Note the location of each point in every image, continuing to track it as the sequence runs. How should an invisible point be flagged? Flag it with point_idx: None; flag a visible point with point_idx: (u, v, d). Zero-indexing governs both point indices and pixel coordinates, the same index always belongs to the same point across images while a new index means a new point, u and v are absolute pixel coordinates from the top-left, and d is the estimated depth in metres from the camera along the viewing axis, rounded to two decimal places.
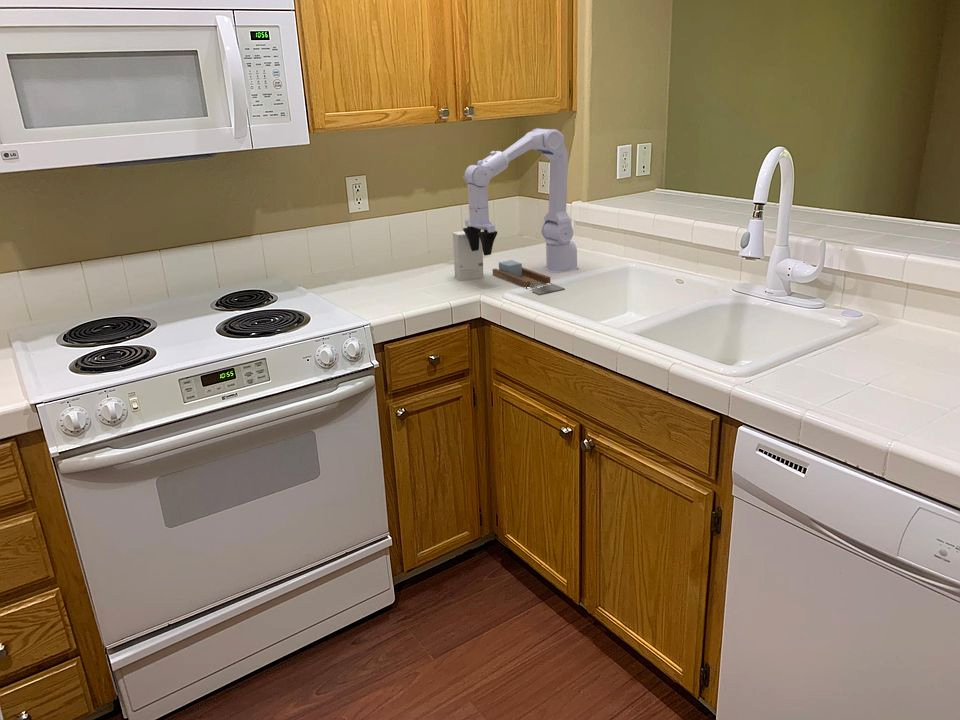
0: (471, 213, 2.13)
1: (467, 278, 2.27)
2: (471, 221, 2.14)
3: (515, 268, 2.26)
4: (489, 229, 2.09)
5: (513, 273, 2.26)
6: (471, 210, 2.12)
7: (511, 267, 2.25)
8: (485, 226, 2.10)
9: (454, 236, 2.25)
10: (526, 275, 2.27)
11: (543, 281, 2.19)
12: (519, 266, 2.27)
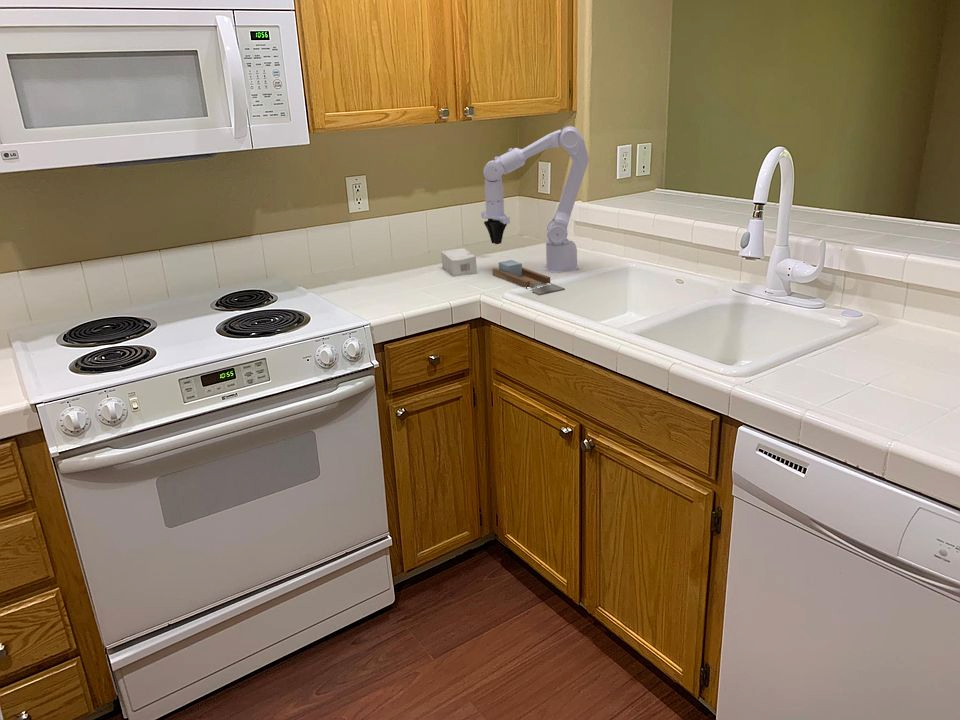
0: (487, 206, 2.27)
1: (459, 258, 2.32)
2: (487, 213, 2.28)
3: (515, 268, 2.26)
4: (504, 221, 2.24)
5: (513, 273, 2.26)
6: (487, 203, 2.26)
7: (511, 267, 2.25)
8: (501, 218, 2.24)
9: (442, 261, 2.44)
10: (526, 275, 2.27)
11: (543, 281, 2.19)
12: (519, 266, 2.27)
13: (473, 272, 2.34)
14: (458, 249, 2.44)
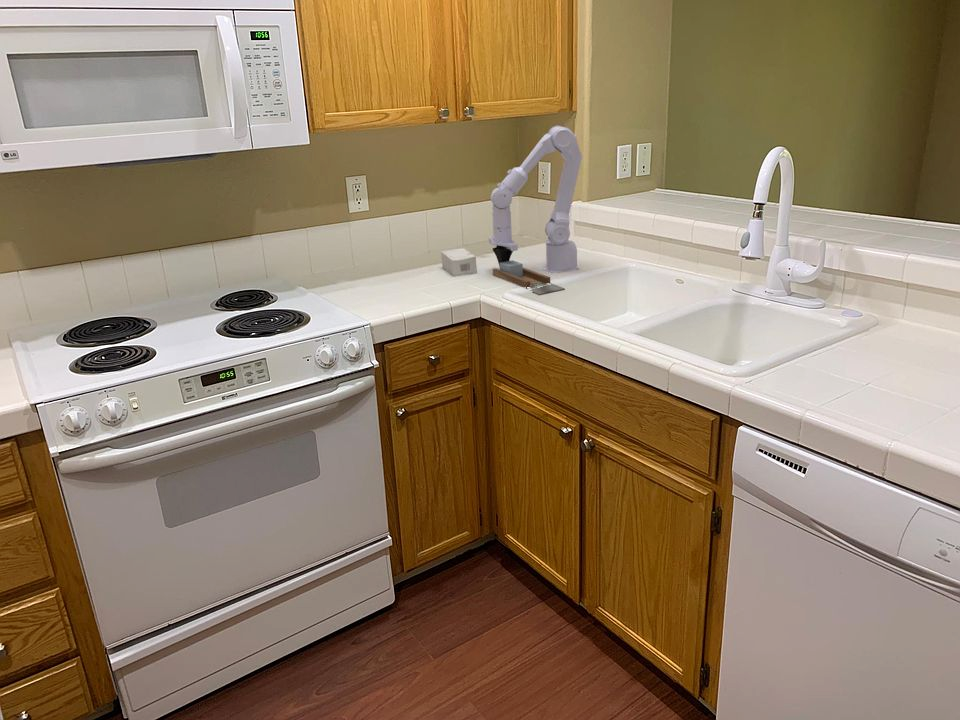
0: (495, 232, 2.26)
1: (459, 258, 2.32)
2: (495, 240, 2.27)
3: (516, 268, 2.26)
4: (512, 248, 2.23)
5: (514, 273, 2.26)
6: (495, 230, 2.26)
7: (512, 267, 2.25)
8: (508, 245, 2.24)
9: (442, 261, 2.44)
10: (526, 275, 2.27)
11: (543, 281, 2.19)
12: (520, 267, 2.26)
13: (473, 272, 2.34)
14: (458, 249, 2.44)
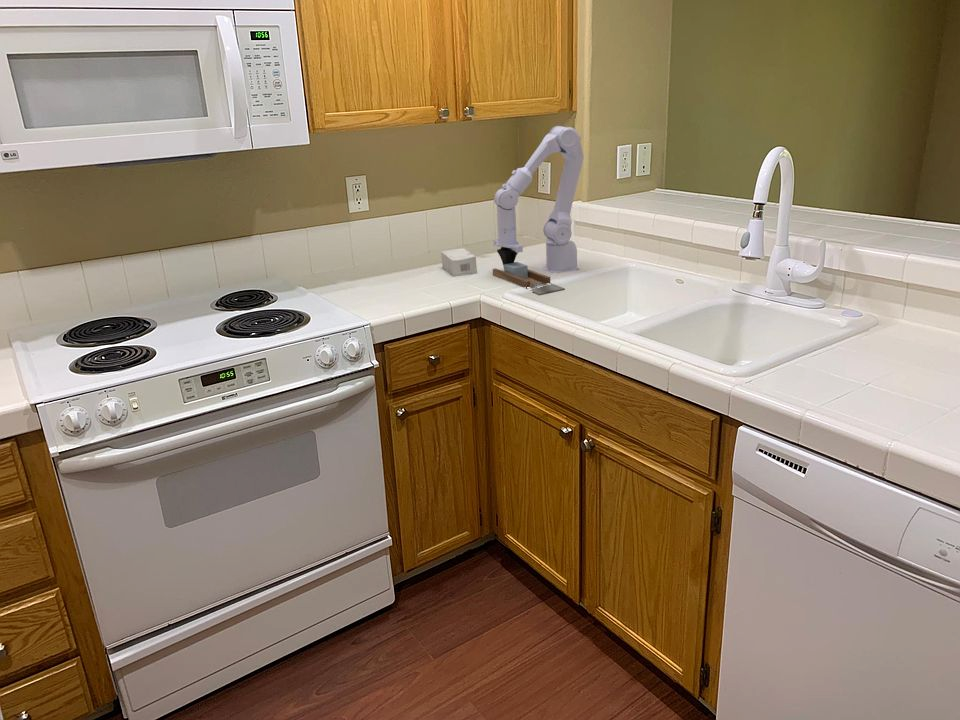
0: (500, 234, 2.24)
1: (459, 258, 2.32)
2: (500, 241, 2.25)
3: (521, 270, 2.23)
4: (517, 249, 2.21)
5: (519, 275, 2.23)
6: (500, 231, 2.24)
7: (517, 269, 2.22)
8: (513, 246, 2.22)
9: (442, 261, 2.44)
10: None
11: (543, 281, 2.19)
12: (525, 269, 2.24)
13: (473, 272, 2.34)
14: (458, 249, 2.44)
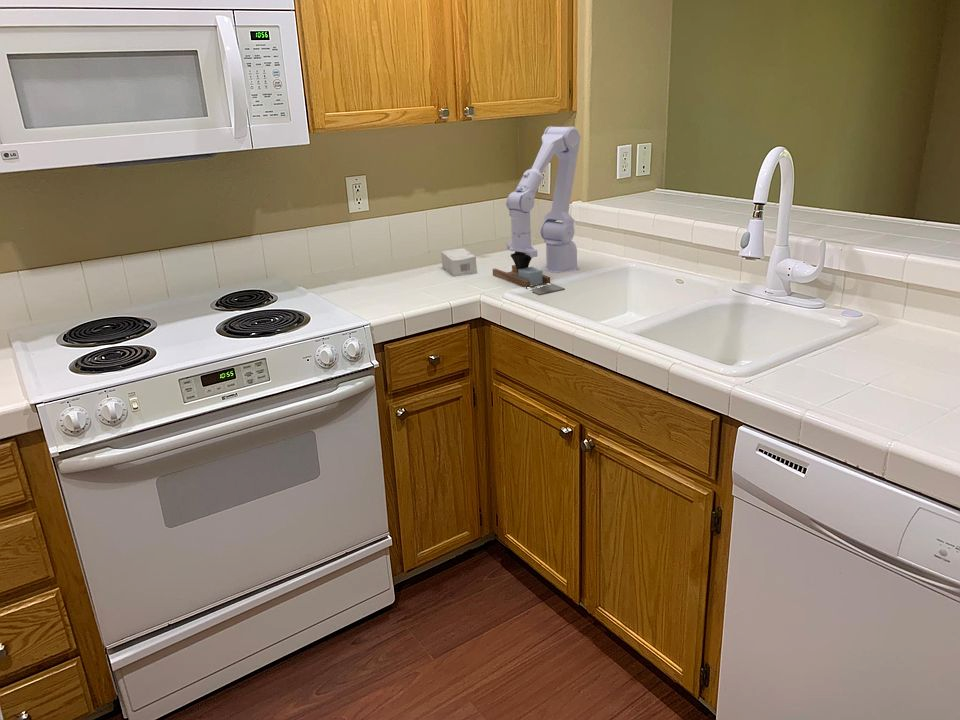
0: (514, 238, 2.17)
1: (459, 258, 2.32)
2: (513, 246, 2.18)
3: (535, 275, 2.17)
4: (532, 254, 2.14)
5: (533, 281, 2.17)
6: (514, 235, 2.17)
7: (531, 274, 2.16)
8: (528, 251, 2.15)
9: (442, 261, 2.44)
10: None
11: (543, 281, 2.19)
12: (539, 274, 2.17)
13: (473, 272, 2.34)
14: (458, 249, 2.44)
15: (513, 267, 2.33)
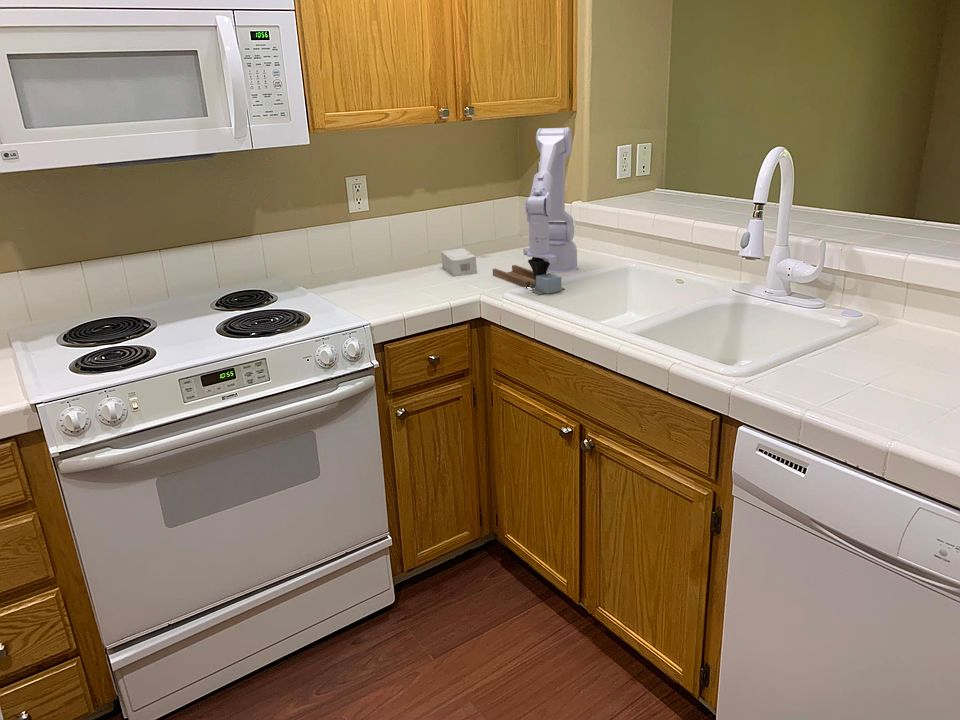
0: (532, 243, 2.09)
1: (459, 258, 2.32)
2: (531, 251, 2.10)
3: (554, 282, 2.08)
4: (551, 260, 2.06)
5: (552, 287, 2.09)
6: (532, 240, 2.09)
7: (550, 281, 2.08)
8: (546, 257, 2.07)
9: (442, 261, 2.44)
10: (526, 275, 2.27)
11: None
12: (558, 280, 2.09)
13: (473, 272, 2.34)
14: (458, 249, 2.44)
15: (513, 267, 2.33)
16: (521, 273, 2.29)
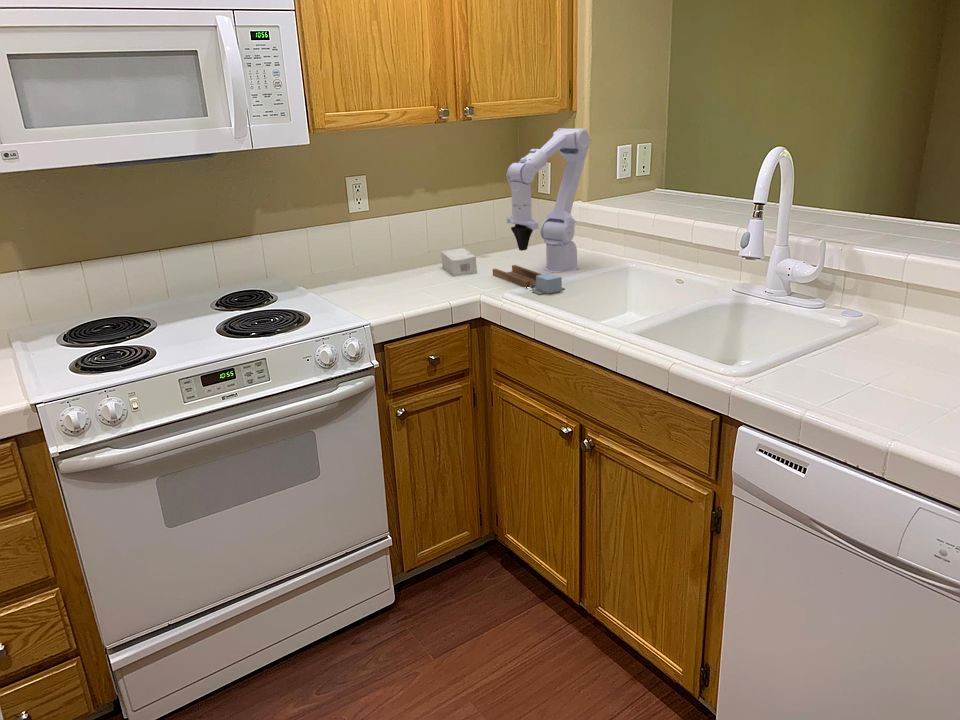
0: (514, 210, 2.14)
1: (459, 258, 2.32)
2: (514, 218, 2.15)
3: (554, 282, 2.08)
4: (533, 226, 2.11)
5: (552, 288, 2.09)
6: (514, 207, 2.13)
7: (550, 281, 2.08)
8: (529, 223, 2.12)
9: (442, 261, 2.44)
10: (526, 275, 2.27)
11: None
12: (558, 280, 2.09)
13: (473, 272, 2.34)
14: (458, 249, 2.44)
15: (513, 267, 2.33)
16: (521, 273, 2.29)
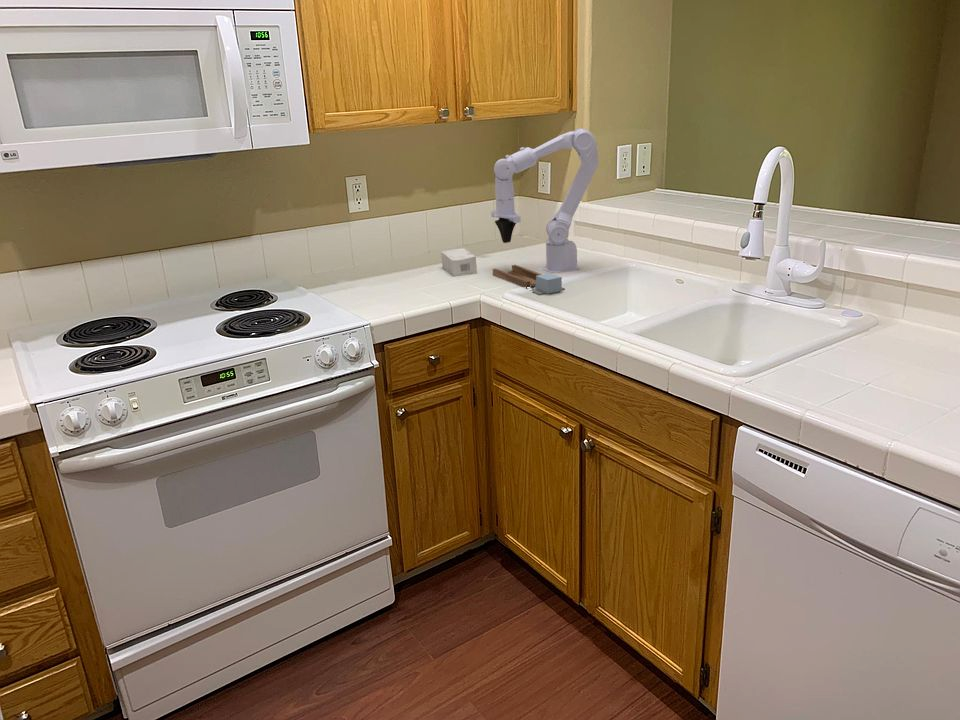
0: (498, 204, 2.25)
1: (459, 258, 2.32)
2: (498, 212, 2.26)
3: (554, 282, 2.08)
4: (515, 219, 2.22)
5: (552, 288, 2.09)
6: (498, 202, 2.25)
7: (550, 281, 2.08)
8: (511, 217, 2.23)
9: (442, 261, 2.44)
10: (526, 275, 2.27)
11: None
12: (558, 280, 2.09)
13: (473, 272, 2.34)
14: (458, 249, 2.44)
15: (513, 267, 2.33)
16: (521, 273, 2.29)
